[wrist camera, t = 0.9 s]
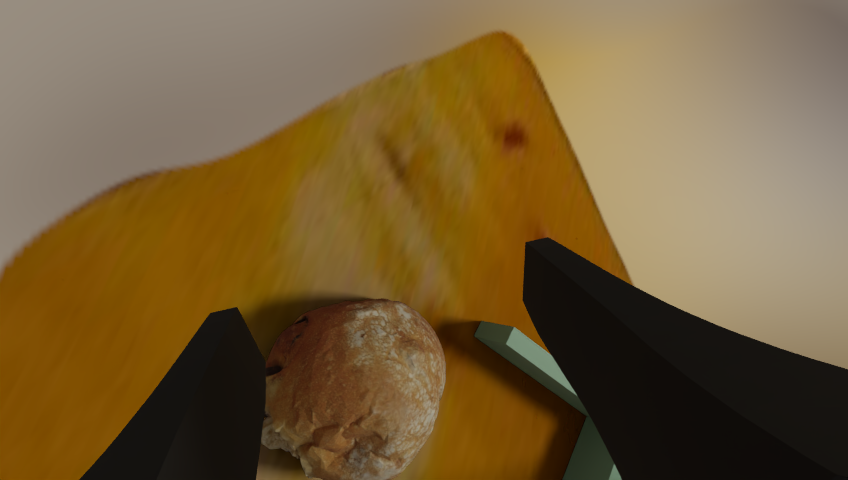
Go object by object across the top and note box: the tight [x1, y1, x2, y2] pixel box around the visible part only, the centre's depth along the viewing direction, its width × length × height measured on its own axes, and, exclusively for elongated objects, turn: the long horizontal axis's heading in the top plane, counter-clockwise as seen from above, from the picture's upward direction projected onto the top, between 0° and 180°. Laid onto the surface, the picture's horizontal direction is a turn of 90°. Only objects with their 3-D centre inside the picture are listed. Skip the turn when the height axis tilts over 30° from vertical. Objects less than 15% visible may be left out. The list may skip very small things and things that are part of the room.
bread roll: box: [261, 299, 446, 480], centre depth 23 cm, size 10×10×8 cm
